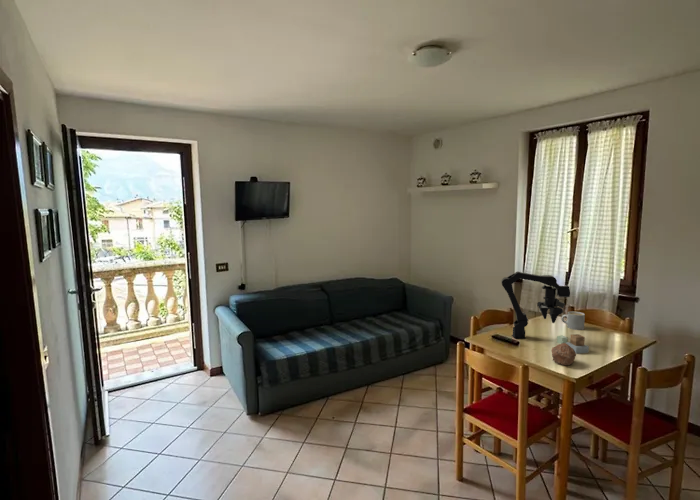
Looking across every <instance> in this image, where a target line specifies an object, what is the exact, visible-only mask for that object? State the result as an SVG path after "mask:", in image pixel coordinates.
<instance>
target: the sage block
mask: <svg viewBox="0 0 700 500" xmlns="http://www.w3.org/2000/svg"><path fill="white" fill-rule="evenodd" d="M568 339H569V338H568V336H565V335H563V334H560V335H556V343H557V344H561V343H567V342H568Z"/></svg>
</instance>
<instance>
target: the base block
mask: <svg viewBox="0 0 700 500" xmlns="http://www.w3.org/2000/svg"><path fill="white" fill-rule="evenodd" d="M566 344H568V345H569V346H570V347H571V348H573V349H574V351H575V352H576V355H577V354H586V353H589V348H590V345H587V344H586V343H584V346H575V345H573V344H571V343H570V342H569V341H567V343H566Z"/></svg>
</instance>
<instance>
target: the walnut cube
mask: <svg viewBox="0 0 700 500" xmlns="http://www.w3.org/2000/svg"><path fill="white" fill-rule="evenodd" d="M585 340H586V338H585V336H583V335H582V334H570V343H571V344H573V345H575V346H584V344H586V343H585Z"/></svg>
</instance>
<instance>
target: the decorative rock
mask: <svg viewBox="0 0 700 500" xmlns="http://www.w3.org/2000/svg"><path fill="white" fill-rule="evenodd" d="M550 351H551V356H552V357H551V358H552V361H553V362H555V363H557V365H564V366H571V365H572V364H573V363H574V361H575V359H576V357H577V354H576V352H575V351H574V349H573V348H571V347H570V346H569V345H568V344H566V343H561V344H560V343H558V344H557V345H556V346H554V347H553V346H552V348H551V350H550Z"/></svg>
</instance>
